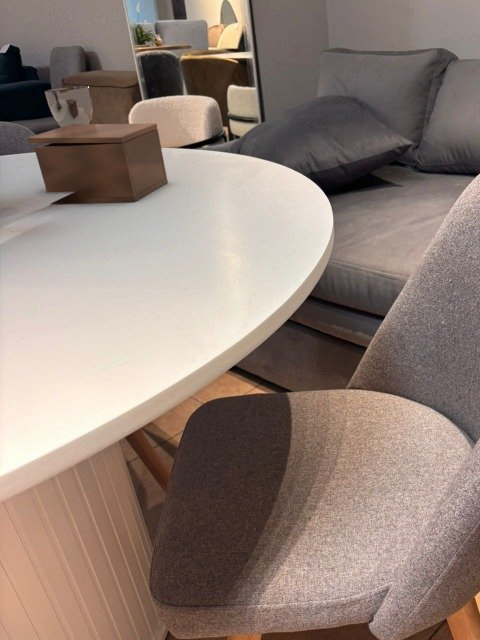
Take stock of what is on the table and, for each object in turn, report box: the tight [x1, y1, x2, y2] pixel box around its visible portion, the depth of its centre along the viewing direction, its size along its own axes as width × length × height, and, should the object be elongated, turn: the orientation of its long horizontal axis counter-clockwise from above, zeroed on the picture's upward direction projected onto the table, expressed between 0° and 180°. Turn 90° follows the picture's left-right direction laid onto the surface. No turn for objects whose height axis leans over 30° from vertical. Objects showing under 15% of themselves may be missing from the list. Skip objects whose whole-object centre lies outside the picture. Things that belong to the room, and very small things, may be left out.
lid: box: [27, 123, 158, 144], centre depth 104 cm, size 16×13×1 cm
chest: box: [33, 128, 169, 205], centre depth 106 cm, size 16×13×9 cm
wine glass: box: [44, 85, 94, 128], centre depth 123 cm, size 8×8×15 cm
